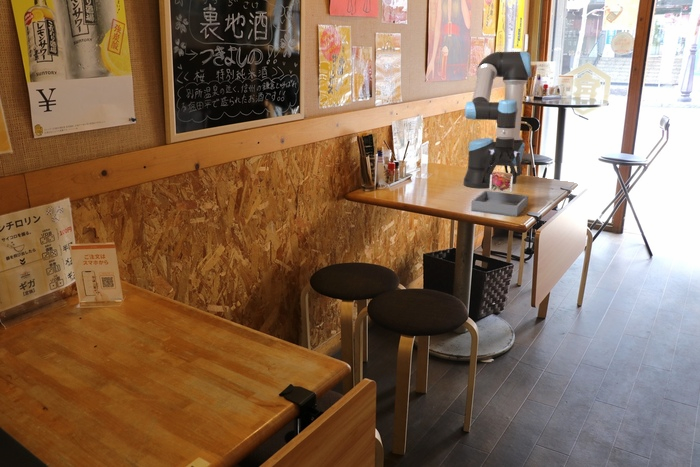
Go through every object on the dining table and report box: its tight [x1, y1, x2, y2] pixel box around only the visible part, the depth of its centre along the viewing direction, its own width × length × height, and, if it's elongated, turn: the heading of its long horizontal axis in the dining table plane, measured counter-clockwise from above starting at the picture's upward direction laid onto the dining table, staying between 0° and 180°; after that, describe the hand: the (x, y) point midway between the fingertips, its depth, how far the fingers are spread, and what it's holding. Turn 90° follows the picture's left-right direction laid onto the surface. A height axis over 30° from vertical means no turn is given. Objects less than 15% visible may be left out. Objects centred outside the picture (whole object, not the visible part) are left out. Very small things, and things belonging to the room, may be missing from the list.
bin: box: [470, 190, 529, 218], centre depth 251 cm, size 20×20×4 cm
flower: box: [492, 171, 511, 192], centre depth 248 cm, size 10×9×8 cm
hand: (501, 189), depth 249 cm, fingers closed on flower, 8 cm apart
